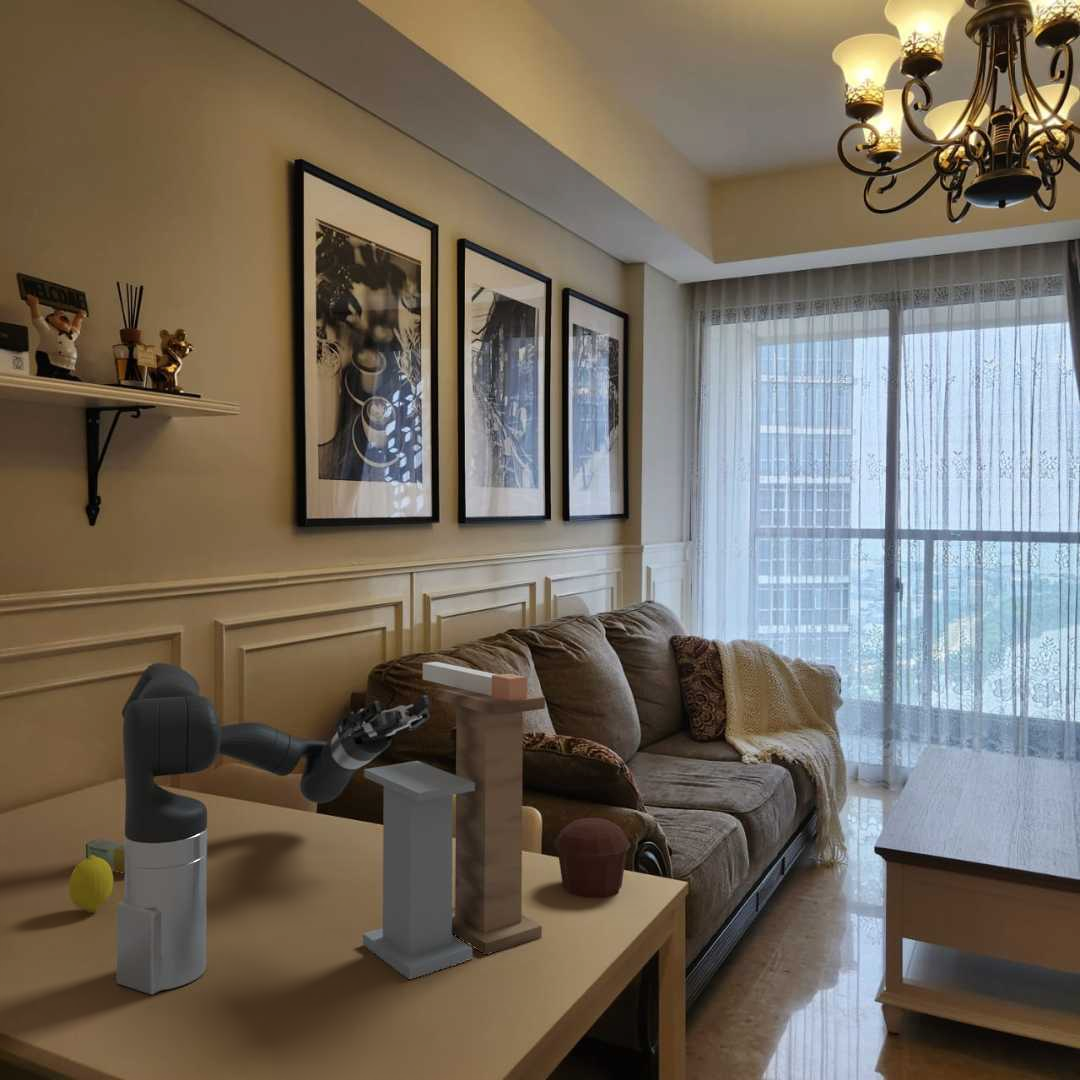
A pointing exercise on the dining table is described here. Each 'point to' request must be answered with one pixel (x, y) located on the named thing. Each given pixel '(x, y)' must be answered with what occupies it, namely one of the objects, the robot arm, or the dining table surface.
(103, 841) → the medication box
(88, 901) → the lemon
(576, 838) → the muffin
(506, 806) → the tall tower
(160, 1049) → the dining table surface
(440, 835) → the grey pedestal column
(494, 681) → the white square bar
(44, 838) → the dining table surface
